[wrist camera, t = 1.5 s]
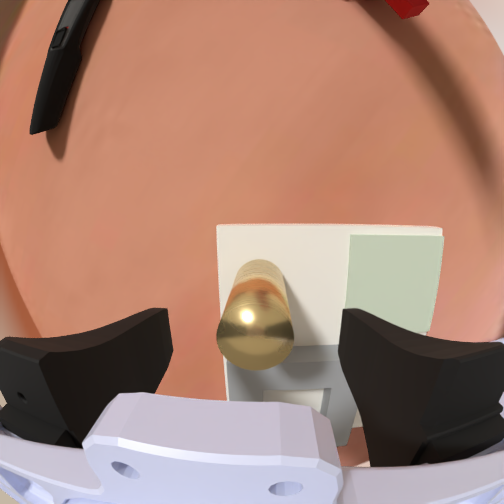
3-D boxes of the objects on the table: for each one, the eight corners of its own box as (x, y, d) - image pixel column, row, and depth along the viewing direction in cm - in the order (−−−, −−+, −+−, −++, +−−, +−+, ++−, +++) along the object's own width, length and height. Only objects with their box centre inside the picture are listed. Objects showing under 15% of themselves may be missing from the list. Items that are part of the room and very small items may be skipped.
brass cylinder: (284, 259, 17) (295, 303, 10) (283, 305, 18) (292, 370, 11) (234, 259, 17) (214, 303, 11) (235, 305, 18) (219, 369, 11)
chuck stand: (435, 226, 17) (458, 232, 14) (395, 413, 21) (406, 434, 18) (219, 224, 18) (209, 231, 15) (231, 424, 22) (227, 449, 19)
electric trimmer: (39, 139, 18) (15, 136, 15) (84, -6, 14) (69, -20, 11) (69, 136, 18) (44, 132, 15) (116, -15, 14) (102, -31, 11)
